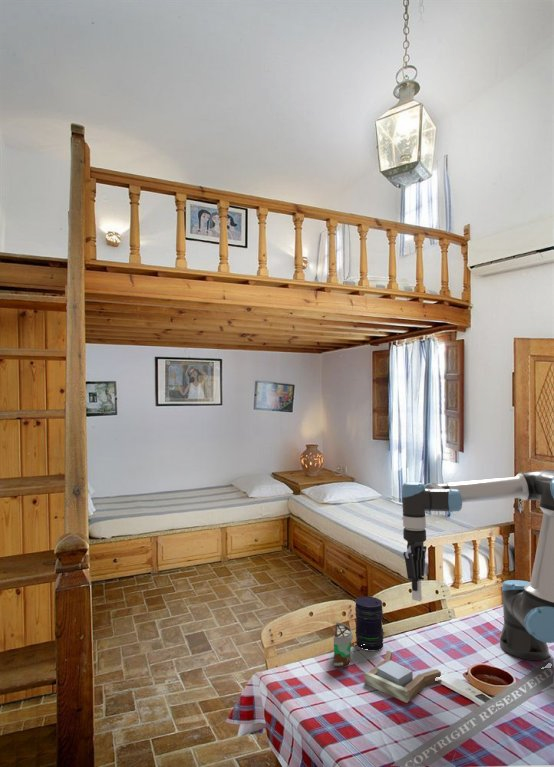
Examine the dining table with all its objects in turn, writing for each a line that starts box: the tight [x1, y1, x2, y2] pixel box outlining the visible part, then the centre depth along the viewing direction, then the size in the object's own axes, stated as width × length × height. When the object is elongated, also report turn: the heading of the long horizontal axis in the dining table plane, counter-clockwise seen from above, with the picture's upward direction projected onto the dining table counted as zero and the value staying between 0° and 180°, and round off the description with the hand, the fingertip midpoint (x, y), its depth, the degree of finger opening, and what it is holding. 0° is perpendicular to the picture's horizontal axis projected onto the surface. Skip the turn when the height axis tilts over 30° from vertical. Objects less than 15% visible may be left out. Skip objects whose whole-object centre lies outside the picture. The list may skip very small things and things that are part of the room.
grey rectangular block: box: [377, 660, 414, 687], centre depth 134 cm, size 8×7×4 cm
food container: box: [333, 622, 354, 669], centre depth 147 cm, size 12×6×10 cm, turn 168°
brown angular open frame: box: [363, 650, 442, 704], centre depth 136 cm, size 19×18×3 cm
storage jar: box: [354, 596, 384, 651], centre depth 159 cm, size 10×10×15 cm
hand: (416, 599), depth 147 cm, fingers closed
